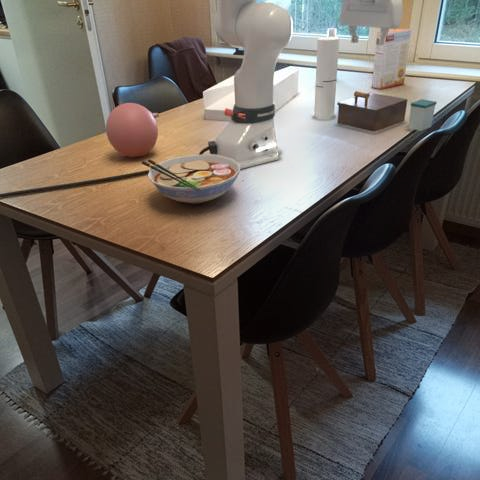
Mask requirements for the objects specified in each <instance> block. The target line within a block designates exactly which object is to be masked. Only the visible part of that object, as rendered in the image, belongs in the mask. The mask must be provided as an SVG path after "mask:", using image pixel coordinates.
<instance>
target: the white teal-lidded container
mask: <svg viewBox="0 0 480 480" xmlns="http://www.w3.org/2000/svg"><path fill="white" fill-rule="evenodd" d="M436 105H437V101H434V100H430V99H429V100H428V99H423V98H422V99H419V100H416V101H413V102H411V103H410V112H409V116H408V122H407V123H408V124H407V129H410V130H415V131H419V132H423V131H425V130H428V129H431V128H432V125H433V119H434V115H435V109H436Z"/></svg>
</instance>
